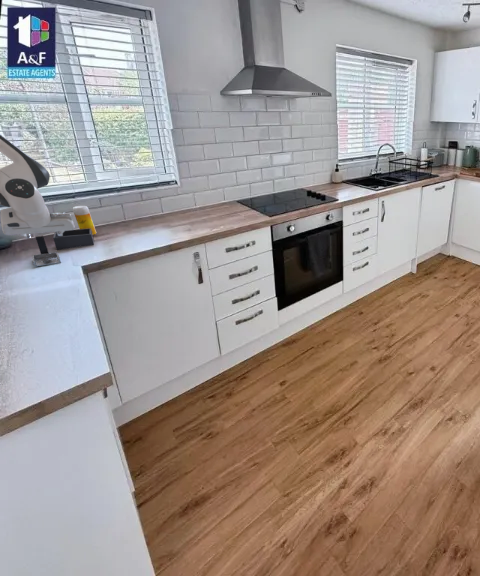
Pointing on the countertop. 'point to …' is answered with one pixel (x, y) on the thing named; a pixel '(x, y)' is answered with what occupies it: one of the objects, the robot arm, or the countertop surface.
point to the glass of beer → (84, 218)
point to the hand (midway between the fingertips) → (44, 235)
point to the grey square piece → (44, 254)
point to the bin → (74, 239)
